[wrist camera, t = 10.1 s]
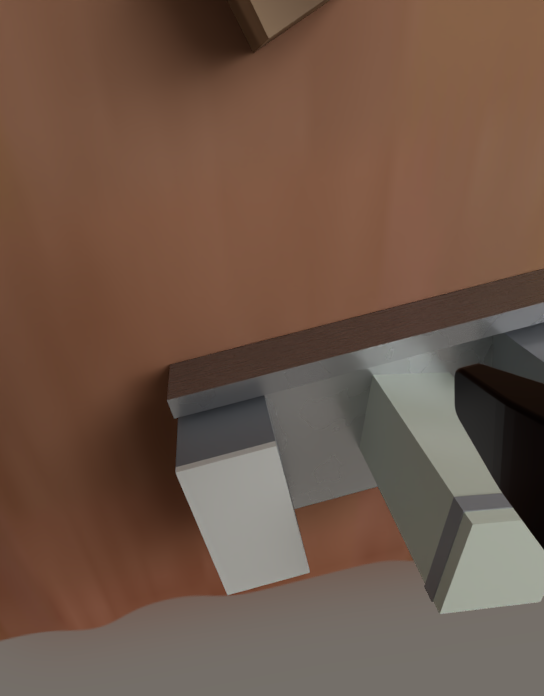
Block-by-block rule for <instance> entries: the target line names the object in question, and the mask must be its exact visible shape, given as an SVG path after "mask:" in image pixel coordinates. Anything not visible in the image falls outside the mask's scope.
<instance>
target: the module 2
mask: <svg viewBox="0 0 544 696" xmlns="http://www.w3.org/2000/svg"><path fill="white" fill-rule="evenodd" d="M492 367H493V368H496V369H499V370H503V371H506V372H509V373H512V374H515V375H518V376H521V377H525V378H528V379H531V380H534V381H537V382H540V383H544V322H543V323H539V324H535V325H531V326H527V327H523V328H520V329H516V330H512V331H508V332H504V333H500V334H497V335H493V355H492Z"/></svg>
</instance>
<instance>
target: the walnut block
mask: <svg viewBox="0 0 544 696" xmlns="http://www.w3.org/2000/svg"><path fill="white" fill-rule="evenodd" d="M227 1H228V3H229V5H230V7H231V9H232V11H233V13H234V15H235V17H236V19H237V21H238V23H239V25H240V27H241V29H242V31H243V33H244V35H245V37H246V39H247V41H248V43H249V45H250V47H251V49H252V51H253V53H254V52H256V51H257V50H259V49H260V48H262V47H263V46H265V45H266V44H267V43H269V42H270V41H272V40H273V39H275V38H276V37H277V36H279V35H280V34H282V33H283V32H285V31H286V30H288V29H289V28H290V27H292V26H293V25H295V24H296V23H298V22H299V21H301V20H302V19H303V18H305V17H306V16H308V15H309V14H311V13H312V12H314V11H315V10H316V9H318V8H319V7H321V6H322V5H324V4H325V3H327V2H328V1H329V0H227Z"/></svg>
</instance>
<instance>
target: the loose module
mask: <svg viewBox="0 0 544 696" xmlns="http://www.w3.org/2000/svg"><path fill="white" fill-rule="evenodd" d="M359 448H360V451H361V453H362V455H363V457H364V459H365V461H366V463H367V465H368V467H369V469H370V471H371V473H372V475H373V477H374V479H375V481H376V484H377V486H378V488H379V490H380V492H381V494H382V496H383V498H384V500H385V502H386V504H387V506H388V508H389V510H390V512H391V515H392V517H393V519H394V521H395V523H396V525H397V527H398V529H399V531H400V533H401V535H402V537H403V539H404V541H405V543H406V546H407V548H408V550H409V552H410V554H411V556H412V558H413V560H414V562H415V564H416V566H417V568H418V570H419V572H420V574H421V577H422V579H423V580H424V583H425V589H426V591H427V593H428V595H429V597H430V599H431V601H432V602H434V603H435V605H436V607H437V610H438V612H439V614H444V613H453V612H461V611H469V610H477V609H485V608H493V607H501V606H510V605H519V604H527V603H535V602H540V601H541V599H542V598H543V596H544V550H543V548H542V547H541V545H540V544H539V543H538V541H537V540H536V539H535V537H534V536H533V535H532V533H531V532H530V530H529V529H528V528H527V526H526V525H525V524H524V522H523V521H522V520H521V518H520V517H519V515H518V514H517V513H516V511H515V510H514V509H513V507H512V506H511V505H510V503H509V502H508V500H507V499H506V498H505V496H504V495H503V493H502V492H501V490H500V489H499V487H498V486H497V484H496V482H495V481H494V479H493V478H492V476H491V474H490V472H489V471H488V469H487V467H486V465H485V464H484V462H483V460H482V458H481V457H480V455H479V453H478V452H477V450H476V448H475V446H474V445H473V443H472V441H471V439H470V438H469V436H468V434H467V433H466V431H465V429H464V427H463V426H462V424H461V422H460V420H459V419H458V416H457V414H456V411H455V396H454V377H453V376H452V375H451V373H450V372H447V373H413V374H380V375H373V376H372V382H371V387H370V392H369V398H368V403H367V409H366V414H365V419H364V425H363V430H362V436H361V441H360V446H359Z"/></svg>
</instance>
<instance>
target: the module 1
mask: <svg viewBox="0 0 544 696" xmlns="http://www.w3.org/2000/svg"><path fill="white" fill-rule="evenodd" d="M175 473H176V475H177V478H178V480H179V482H180V485H181V487H182V489H183V492H184V494H185V496H186V499H187V501H188V503H189V506H190V508H191V511H192V513H193V515H194V518H195V520H196V522H197V525H198V527H199V529H200V532H201V534H202V536H203V539H204V541H205V543H206V546H207V548H208V550H209V553H210V555H211V557H212V560H213V562H214V564H215V567H216V569H217V571H218V574H219V576H220V579H221V581H222V583H223V586H224V588H225V590H226V593H227V595H230V594H234V593H237V592H241V591H245V590H248V589H252V588H255V587H259V586H263V585H266V584H270V583H274V582H277V581H281V580H285V579H288V578H292V577H295V576H299V575H303V574H306V573H310V570H309V566H308V562H307V558H306V554H305V550H304V546H303V542H302V538H301V534H300V530H299V526H298V522H297V518H296V514H295V510H294V506H293V502H292V498H291V494H290V491H289V487H288V483H287V479H286V475H285V472H284V468H283V464H282V460H281V456H280V453H279V449H278V445H277V441H276V437H275V434H274V430H273V426H272V422H271V418H270V415H269V411H268V407H267V403H266V399H265V396H264V395H263V396H259V397H255V398H252V399H248V400H244V401H240V402H236V403H232V404H229V405H225V406H221V407H217V408H213V409H209V410H206V411H202V412H198V413H194V414H190V415H186V416H183V417H179V418H178V431H177V451H176V470H175Z"/></svg>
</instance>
